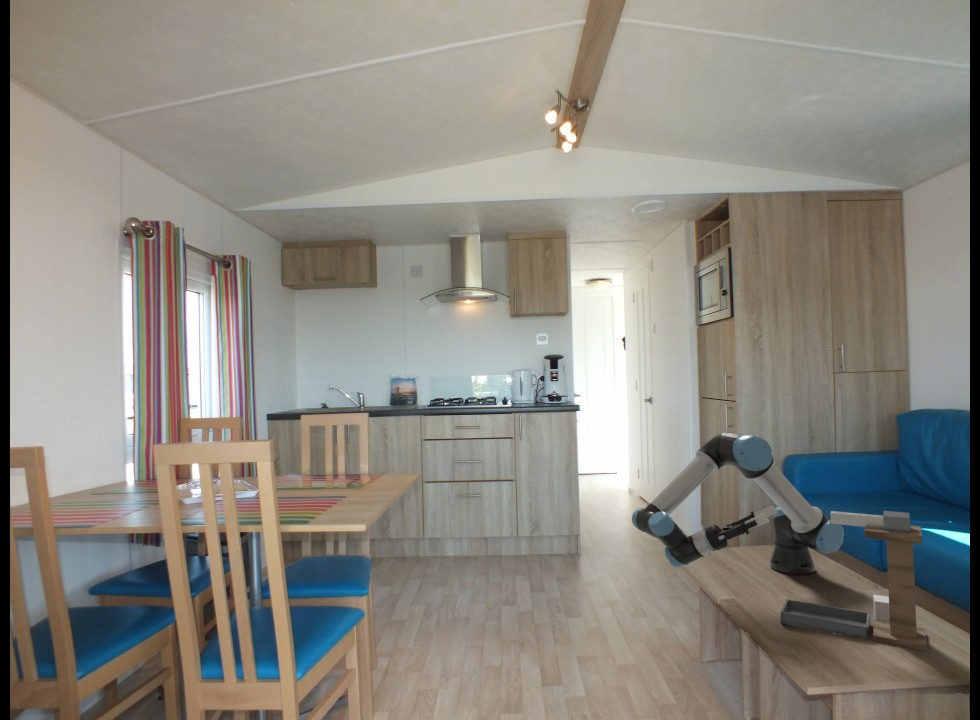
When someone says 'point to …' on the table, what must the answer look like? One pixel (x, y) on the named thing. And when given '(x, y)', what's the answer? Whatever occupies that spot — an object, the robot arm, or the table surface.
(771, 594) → the table surface
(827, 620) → the tray
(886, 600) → the white cube
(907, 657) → the table surface
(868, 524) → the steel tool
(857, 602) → the table surface
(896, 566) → the shelf post
